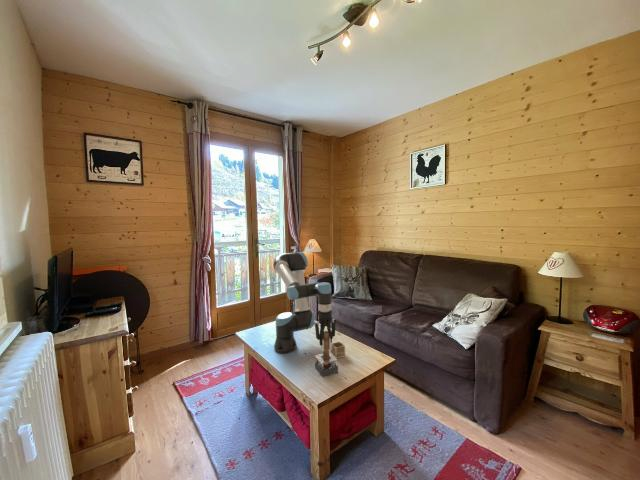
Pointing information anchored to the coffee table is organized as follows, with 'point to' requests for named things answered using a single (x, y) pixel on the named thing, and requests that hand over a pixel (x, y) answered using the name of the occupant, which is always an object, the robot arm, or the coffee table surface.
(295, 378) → the coffee table surface
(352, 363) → the coffee table surface
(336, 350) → the pen cup
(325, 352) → the brown wooden rod
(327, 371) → the grey button box
